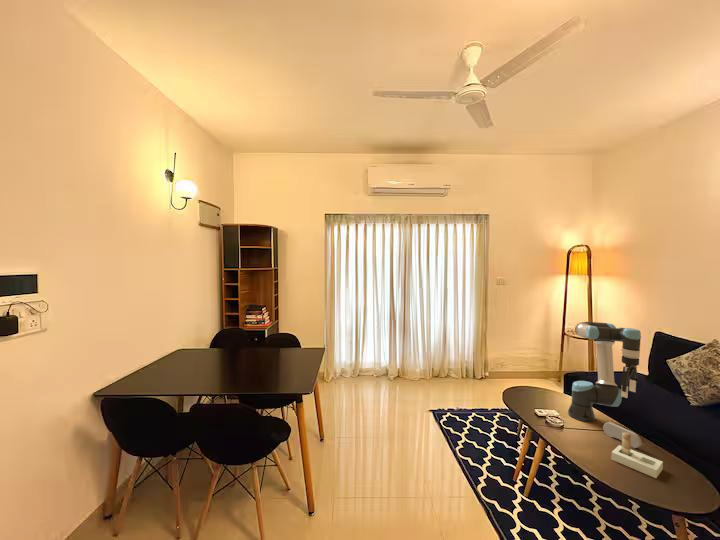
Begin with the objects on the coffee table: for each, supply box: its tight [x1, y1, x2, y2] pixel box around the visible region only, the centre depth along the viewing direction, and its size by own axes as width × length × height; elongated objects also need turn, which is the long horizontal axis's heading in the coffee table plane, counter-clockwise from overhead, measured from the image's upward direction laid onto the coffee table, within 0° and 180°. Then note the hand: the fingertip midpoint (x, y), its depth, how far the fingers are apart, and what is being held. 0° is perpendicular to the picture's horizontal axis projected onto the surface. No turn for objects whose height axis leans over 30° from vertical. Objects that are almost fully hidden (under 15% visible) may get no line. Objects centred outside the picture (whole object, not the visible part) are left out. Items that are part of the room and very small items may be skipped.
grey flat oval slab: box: [602, 421, 642, 449], centre depth 191 cm, size 20×2×8 cm, turn 20°
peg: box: [621, 432, 632, 456], centre depth 173 cm, size 4×4×14 cm
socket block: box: [610, 444, 664, 479], centre depth 169 cm, size 12×18×4 cm, turn 36°
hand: (628, 394), depth 183 cm, fingers open, 13 cm apart
